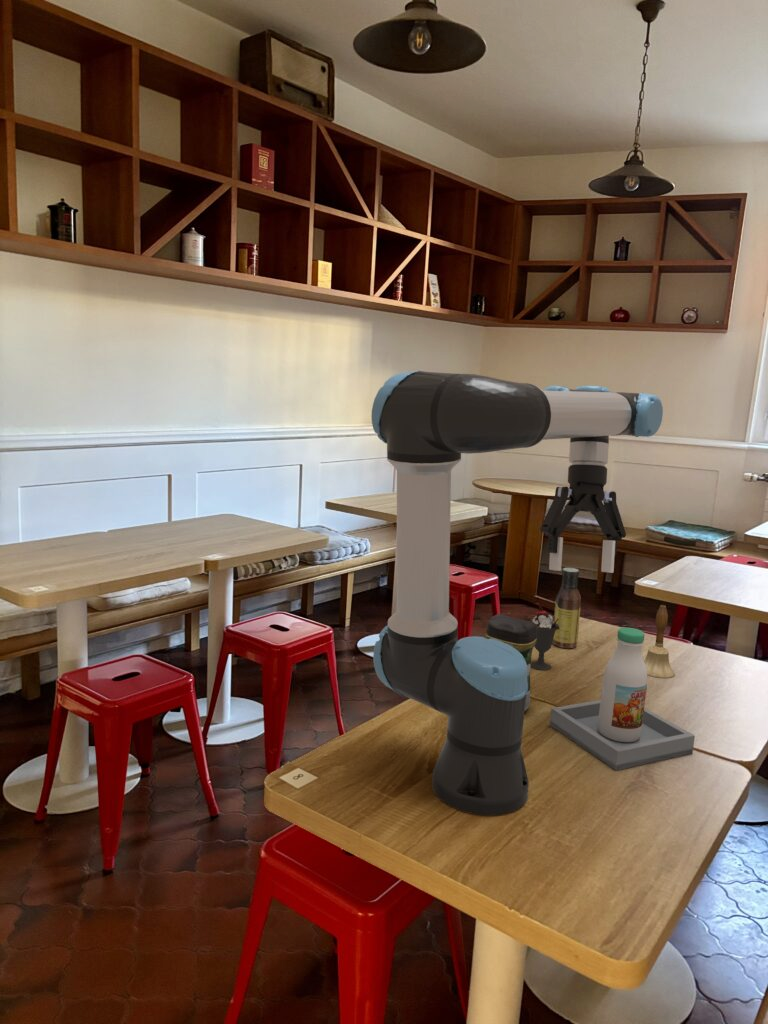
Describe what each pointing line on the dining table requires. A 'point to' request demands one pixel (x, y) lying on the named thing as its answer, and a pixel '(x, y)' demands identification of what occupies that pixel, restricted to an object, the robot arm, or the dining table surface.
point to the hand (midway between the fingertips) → (581, 571)
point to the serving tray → (651, 747)
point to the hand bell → (659, 650)
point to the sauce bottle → (567, 610)
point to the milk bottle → (624, 689)
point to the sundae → (543, 637)
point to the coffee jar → (515, 639)
